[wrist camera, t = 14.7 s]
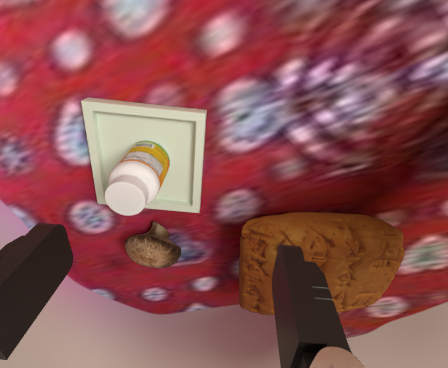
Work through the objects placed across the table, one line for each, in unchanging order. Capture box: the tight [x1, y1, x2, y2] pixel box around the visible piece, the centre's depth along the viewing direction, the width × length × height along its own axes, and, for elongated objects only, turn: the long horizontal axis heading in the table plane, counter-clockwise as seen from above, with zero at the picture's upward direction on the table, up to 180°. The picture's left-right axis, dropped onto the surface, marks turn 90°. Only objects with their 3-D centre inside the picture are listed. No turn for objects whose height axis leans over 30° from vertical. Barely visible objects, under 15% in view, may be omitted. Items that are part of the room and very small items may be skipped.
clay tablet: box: [239, 212, 405, 315], centre depth 39 cm, size 22×17×8 cm
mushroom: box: [125, 221, 181, 268], centre depth 40 cm, size 8×8×6 cm
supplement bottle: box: [105, 140, 170, 216], centre depth 31 cm, size 5×5×10 cm
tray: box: [81, 98, 207, 213], centre depth 35 cm, size 14×14×2 cm
